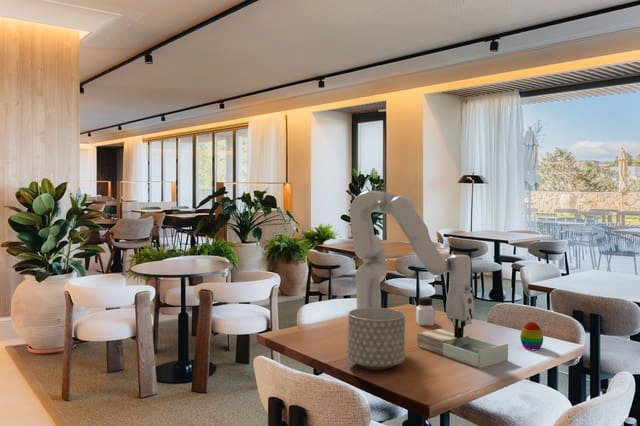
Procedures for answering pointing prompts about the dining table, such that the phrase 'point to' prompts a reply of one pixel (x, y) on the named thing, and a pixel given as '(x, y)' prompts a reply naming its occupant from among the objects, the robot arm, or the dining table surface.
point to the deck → (437, 339)
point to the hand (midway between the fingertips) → (458, 337)
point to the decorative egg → (531, 336)
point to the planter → (376, 337)
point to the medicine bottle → (425, 312)
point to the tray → (485, 355)
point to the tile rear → (464, 342)
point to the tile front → (471, 349)
